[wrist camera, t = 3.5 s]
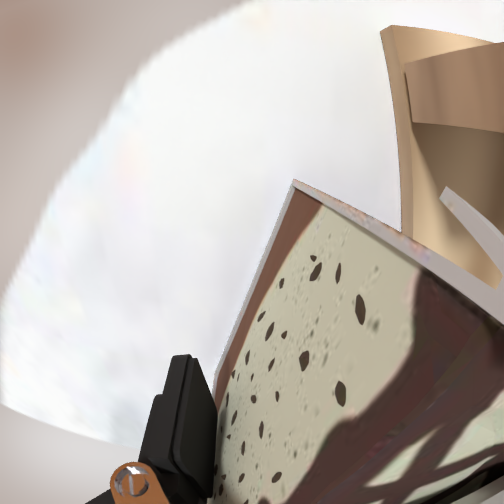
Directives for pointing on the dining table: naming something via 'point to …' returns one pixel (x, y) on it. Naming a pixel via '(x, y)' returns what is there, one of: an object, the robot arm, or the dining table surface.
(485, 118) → the block
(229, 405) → the food container
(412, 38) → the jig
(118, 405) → the dining table surface
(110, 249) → the dining table surface
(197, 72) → the dining table surface
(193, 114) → the dining table surface
